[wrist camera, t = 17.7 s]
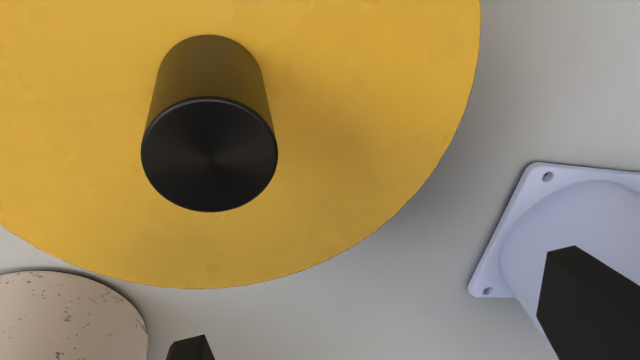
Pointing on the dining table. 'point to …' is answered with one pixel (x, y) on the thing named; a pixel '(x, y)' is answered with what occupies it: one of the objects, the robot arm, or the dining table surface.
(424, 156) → the tin lid
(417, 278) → the dining table surface
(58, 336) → the teacup with lid
